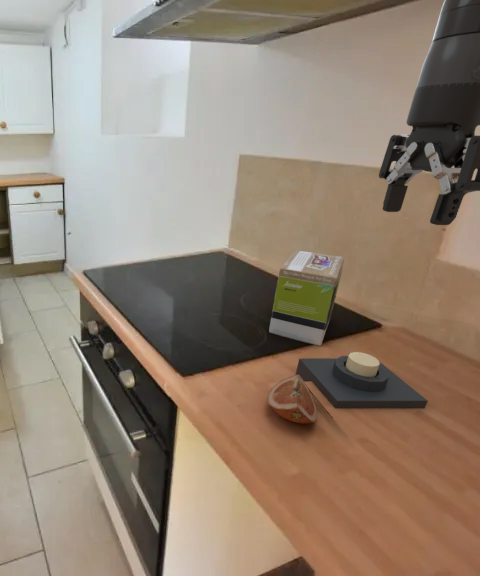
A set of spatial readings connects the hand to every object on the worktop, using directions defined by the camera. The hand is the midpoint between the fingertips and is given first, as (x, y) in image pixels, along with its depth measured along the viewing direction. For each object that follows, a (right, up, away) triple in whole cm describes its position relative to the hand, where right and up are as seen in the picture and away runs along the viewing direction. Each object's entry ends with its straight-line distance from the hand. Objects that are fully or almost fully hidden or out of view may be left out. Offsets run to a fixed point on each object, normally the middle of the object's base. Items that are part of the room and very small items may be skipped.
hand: (413, 217), depth 52 cm
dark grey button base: (-2, -27, +9) cm, 28 cm away
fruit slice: (-15, -29, +4) cm, 33 cm away
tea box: (+1, -18, +30) cm, 35 cm away
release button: (-2, -22, +7) cm, 24 cm away
